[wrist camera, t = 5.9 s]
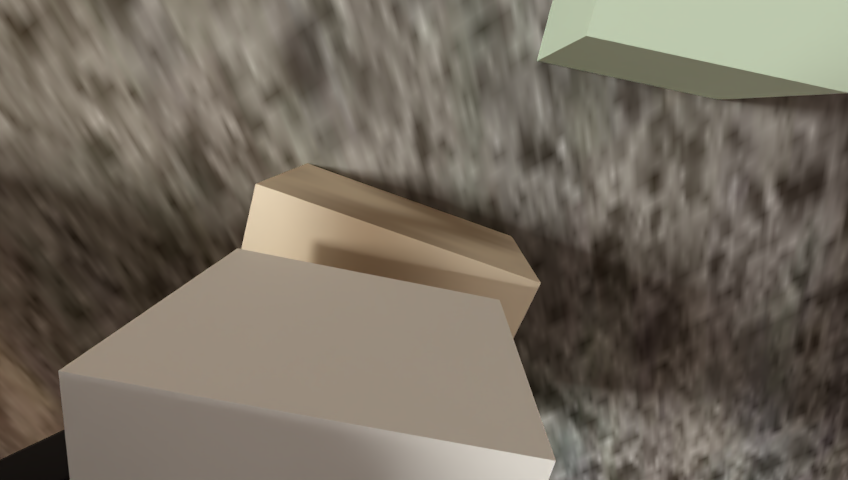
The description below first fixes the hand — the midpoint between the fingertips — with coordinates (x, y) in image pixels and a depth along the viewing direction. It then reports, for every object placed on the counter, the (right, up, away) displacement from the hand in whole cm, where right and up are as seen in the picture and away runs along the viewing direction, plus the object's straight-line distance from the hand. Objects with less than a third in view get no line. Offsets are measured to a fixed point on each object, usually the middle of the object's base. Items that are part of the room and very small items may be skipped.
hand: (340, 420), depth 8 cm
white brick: (0, 0, +1) cm, 1 cm away
